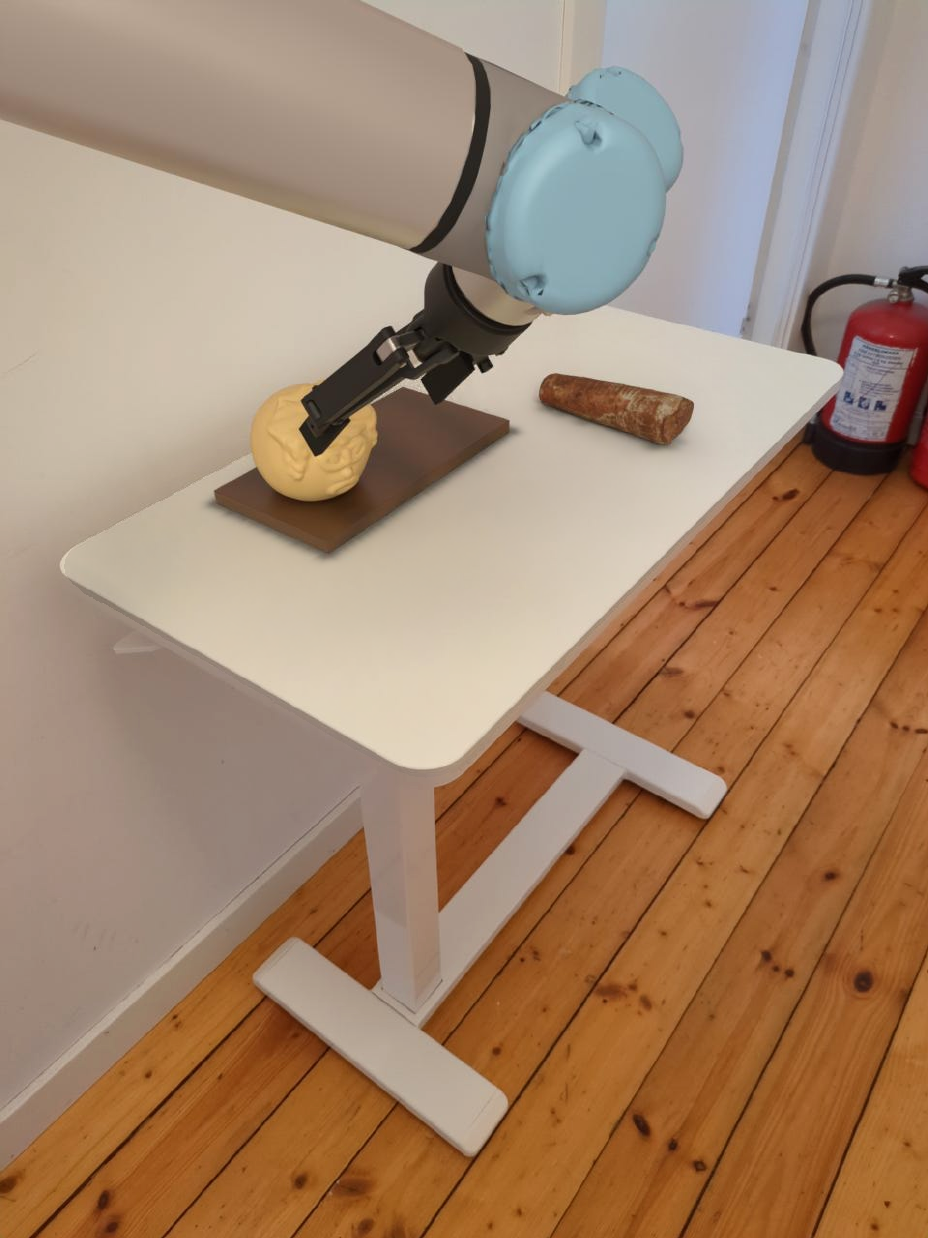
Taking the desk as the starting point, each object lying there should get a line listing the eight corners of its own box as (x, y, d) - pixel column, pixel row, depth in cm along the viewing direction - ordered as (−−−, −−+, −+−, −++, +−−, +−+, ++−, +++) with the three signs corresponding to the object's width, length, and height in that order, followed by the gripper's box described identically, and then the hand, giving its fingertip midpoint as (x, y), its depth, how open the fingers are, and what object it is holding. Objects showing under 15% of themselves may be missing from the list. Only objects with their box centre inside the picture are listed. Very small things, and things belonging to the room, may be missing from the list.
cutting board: (328, 554, 85) (326, 540, 84) (216, 502, 92) (213, 490, 91) (509, 431, 103) (509, 419, 102) (403, 397, 111) (402, 386, 110)
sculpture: (307, 529, 85) (291, 425, 79) (238, 484, 92) (217, 386, 85) (398, 484, 91) (390, 385, 85) (326, 445, 98) (314, 351, 91)
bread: (666, 457, 97) (673, 410, 94) (529, 408, 108) (530, 364, 104) (696, 435, 101) (703, 389, 98) (561, 390, 111) (562, 347, 108)
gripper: (382, 384, 54) (276, 505, 72) (637, 283, 67) (494, 407, 85) (319, 275, 54) (228, 424, 72) (587, 195, 67) (455, 337, 85)
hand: (373, 415), depth 79 cm, fingers open, 13 cm apart
